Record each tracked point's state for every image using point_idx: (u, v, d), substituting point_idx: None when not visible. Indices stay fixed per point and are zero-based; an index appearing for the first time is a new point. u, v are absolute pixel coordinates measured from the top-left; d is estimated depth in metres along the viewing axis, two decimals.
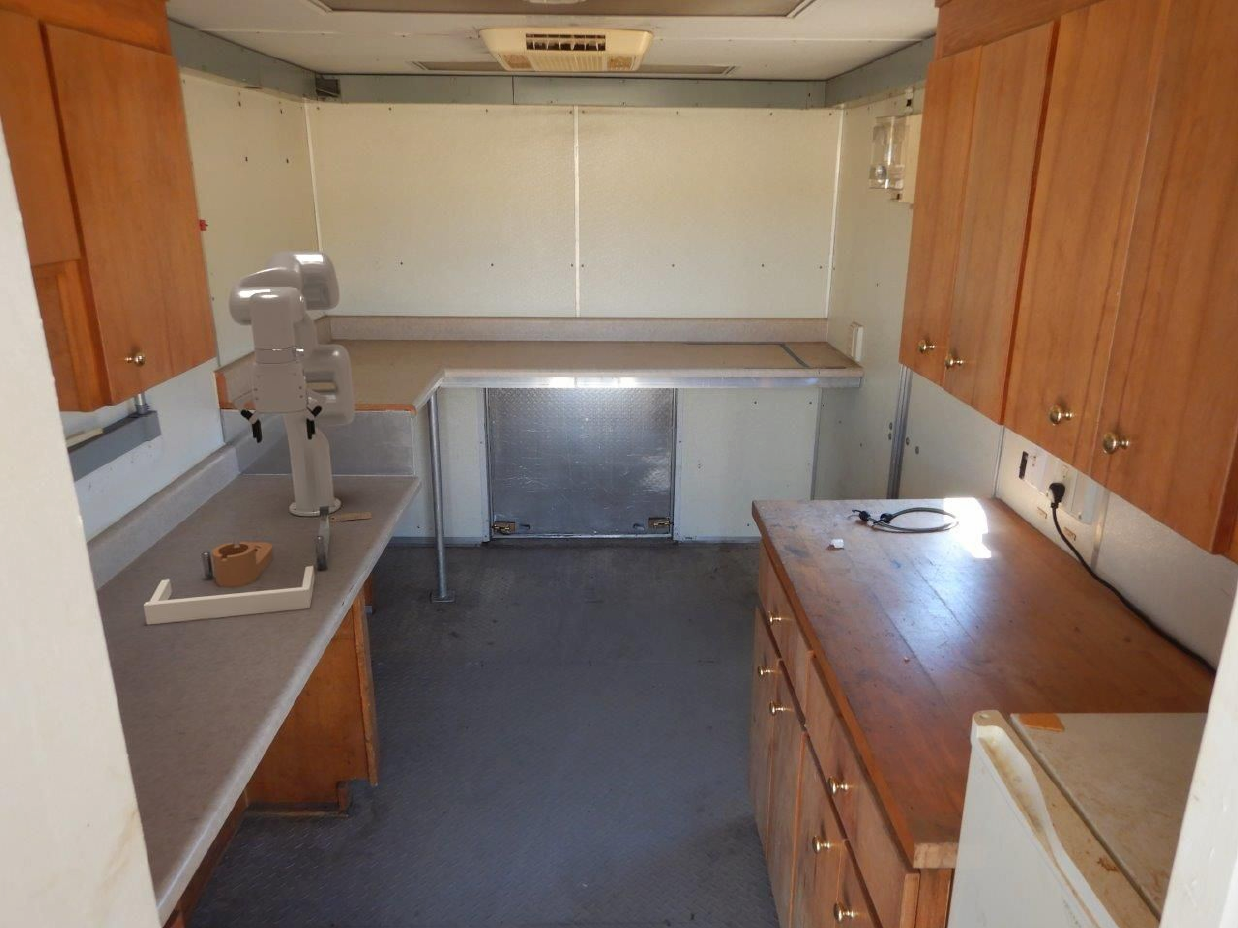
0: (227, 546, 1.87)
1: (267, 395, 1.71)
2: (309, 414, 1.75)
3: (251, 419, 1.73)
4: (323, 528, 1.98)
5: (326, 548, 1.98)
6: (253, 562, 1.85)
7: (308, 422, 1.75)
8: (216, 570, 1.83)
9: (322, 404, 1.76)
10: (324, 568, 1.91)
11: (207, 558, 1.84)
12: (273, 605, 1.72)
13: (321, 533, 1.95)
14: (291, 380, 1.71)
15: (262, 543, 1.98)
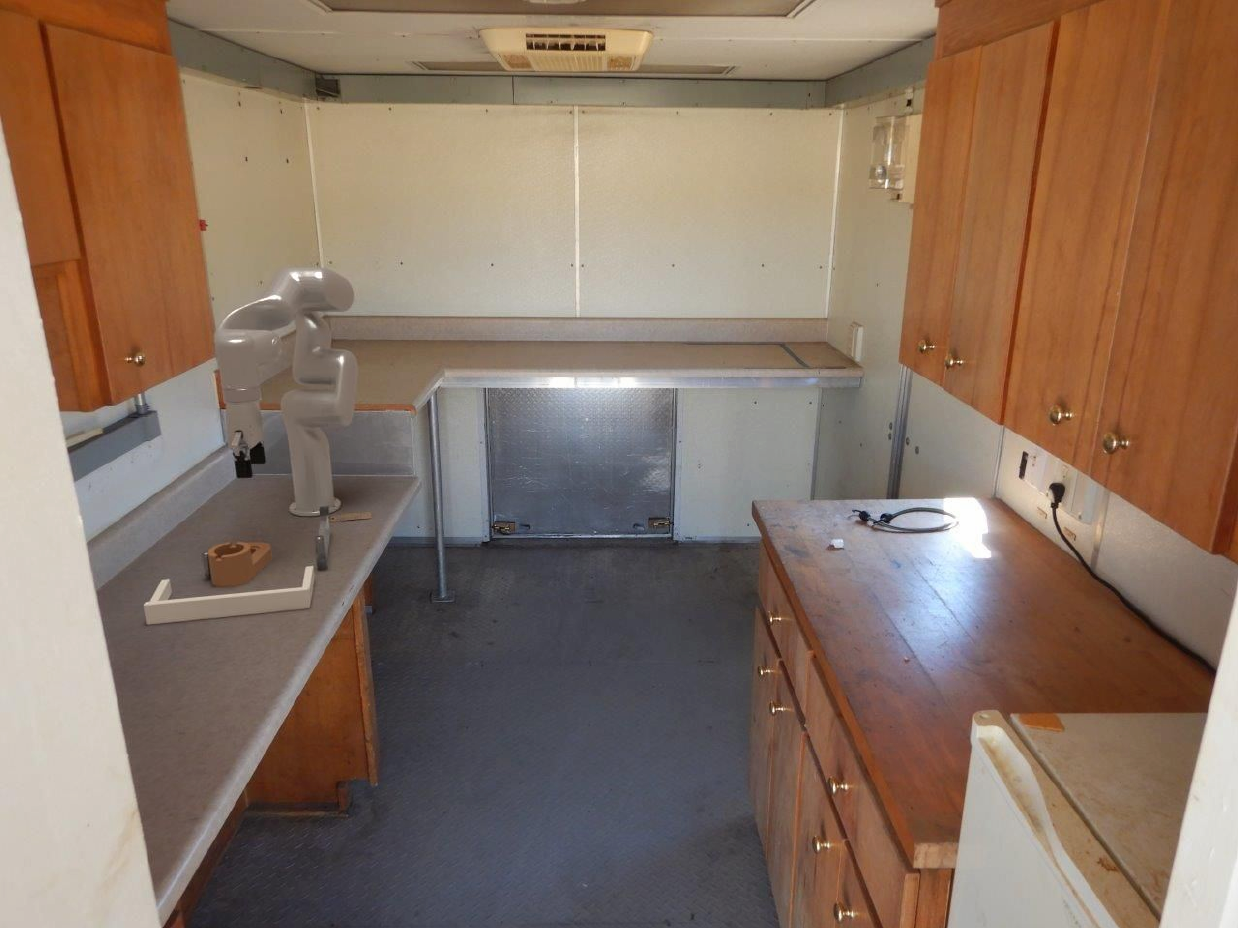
0: (224, 546, 1.87)
1: (254, 429, 1.87)
2: (262, 440, 1.95)
3: (246, 457, 1.84)
4: (323, 528, 1.98)
5: (326, 548, 1.98)
6: (248, 563, 1.85)
7: (263, 447, 1.95)
8: (211, 570, 1.83)
9: None
10: (324, 568, 1.91)
11: (207, 558, 1.84)
12: (273, 605, 1.72)
13: (321, 533, 1.95)
14: (259, 411, 1.90)
15: (262, 543, 1.98)
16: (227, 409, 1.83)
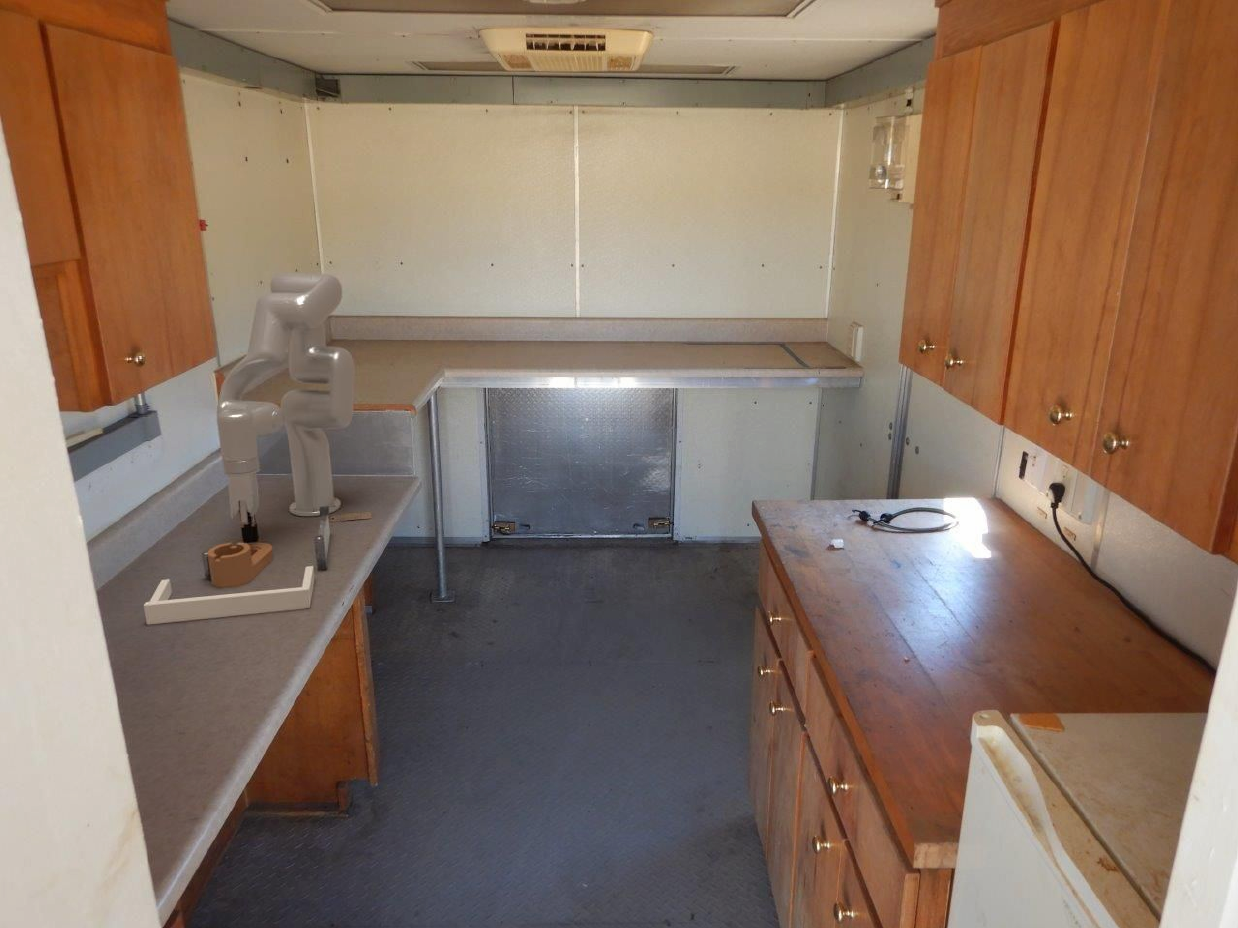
0: (224, 546, 1.87)
1: (255, 498, 1.95)
2: (255, 518, 1.99)
3: (253, 524, 1.97)
4: (323, 528, 1.98)
5: (326, 548, 1.98)
6: (247, 564, 1.84)
7: None
8: (211, 570, 1.83)
9: None
10: (324, 568, 1.91)
11: (207, 558, 1.84)
12: (273, 605, 1.72)
13: (321, 533, 1.95)
14: (256, 480, 1.98)
15: (263, 544, 1.98)
16: (230, 480, 1.90)
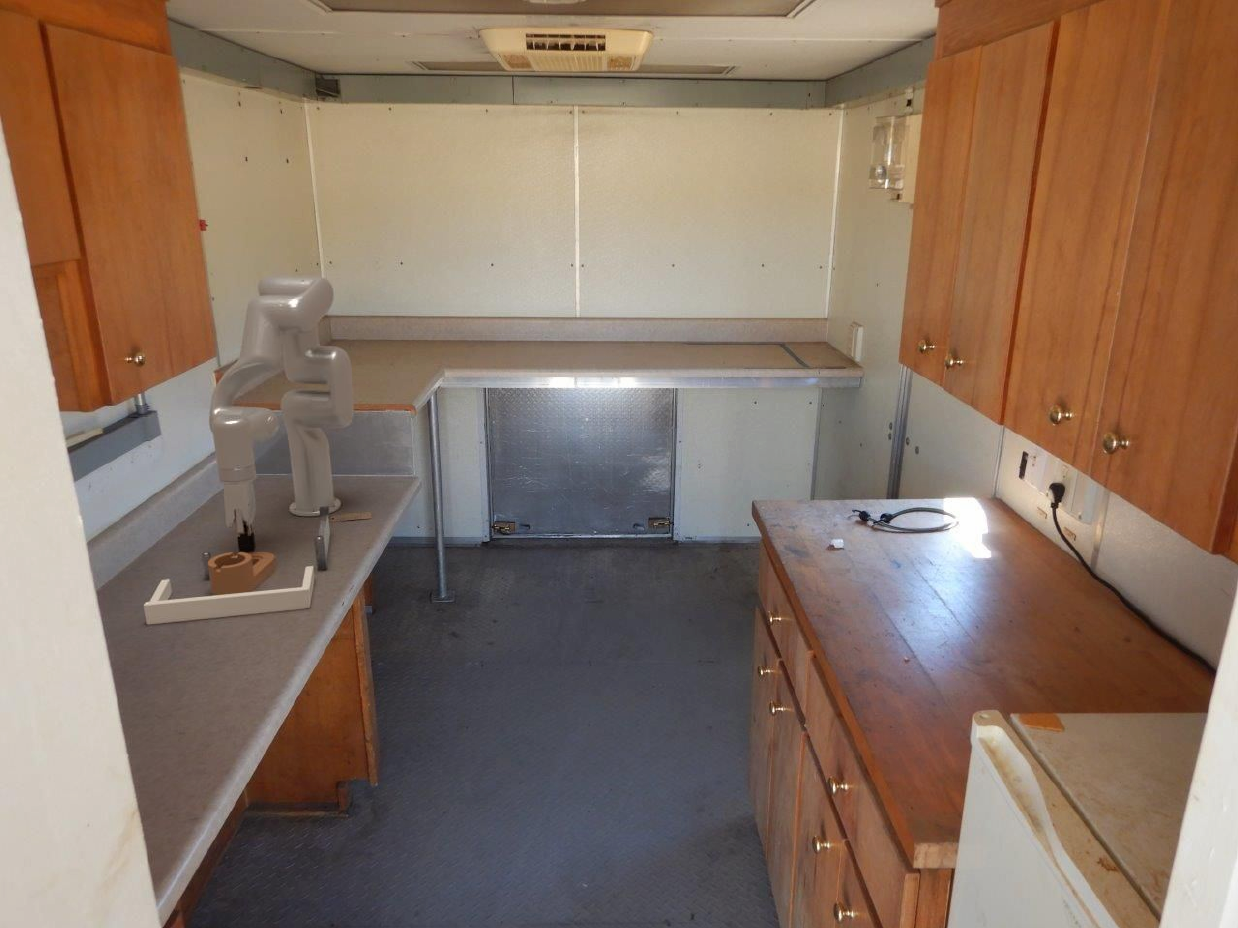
0: (225, 556, 1.82)
1: (251, 506, 1.89)
2: (251, 527, 1.93)
3: (249, 534, 1.91)
4: (323, 528, 1.98)
5: (326, 548, 1.98)
6: (248, 574, 1.79)
7: (253, 534, 1.94)
8: (211, 581, 1.78)
9: None
10: (324, 568, 1.91)
11: (207, 558, 1.84)
12: (273, 605, 1.72)
13: (321, 533, 1.95)
14: None
15: (265, 553, 1.93)
16: (225, 489, 1.85)
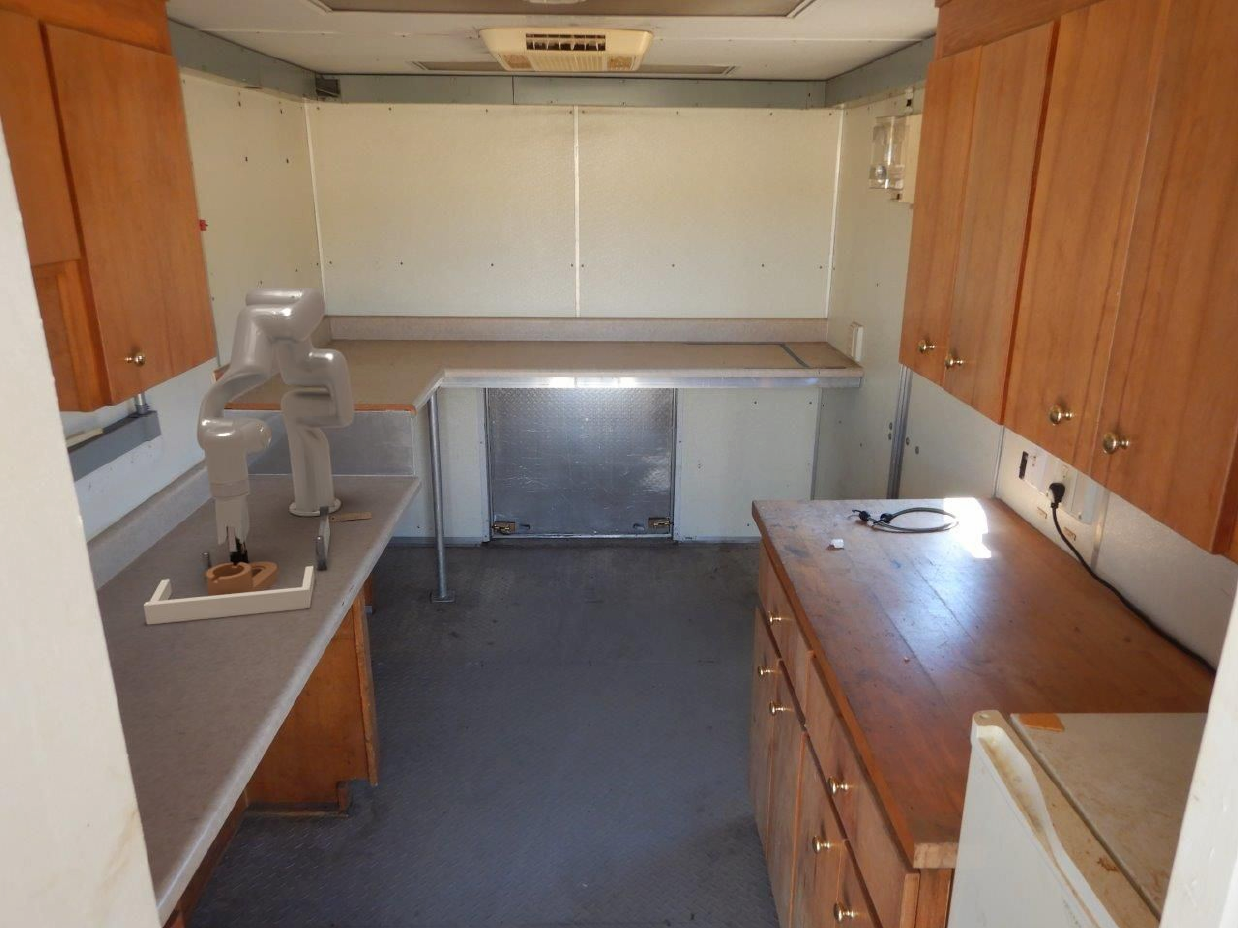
0: (224, 566, 1.77)
1: (244, 523, 1.80)
2: (245, 544, 1.84)
3: (243, 551, 1.82)
4: (323, 528, 1.98)
5: (326, 548, 1.98)
6: (247, 586, 1.74)
7: None
8: (209, 592, 1.73)
9: None
10: (324, 568, 1.91)
11: (207, 558, 1.84)
12: (273, 605, 1.72)
13: (321, 533, 1.95)
14: (246, 503, 1.83)
15: (269, 563, 1.88)
16: (217, 505, 1.75)
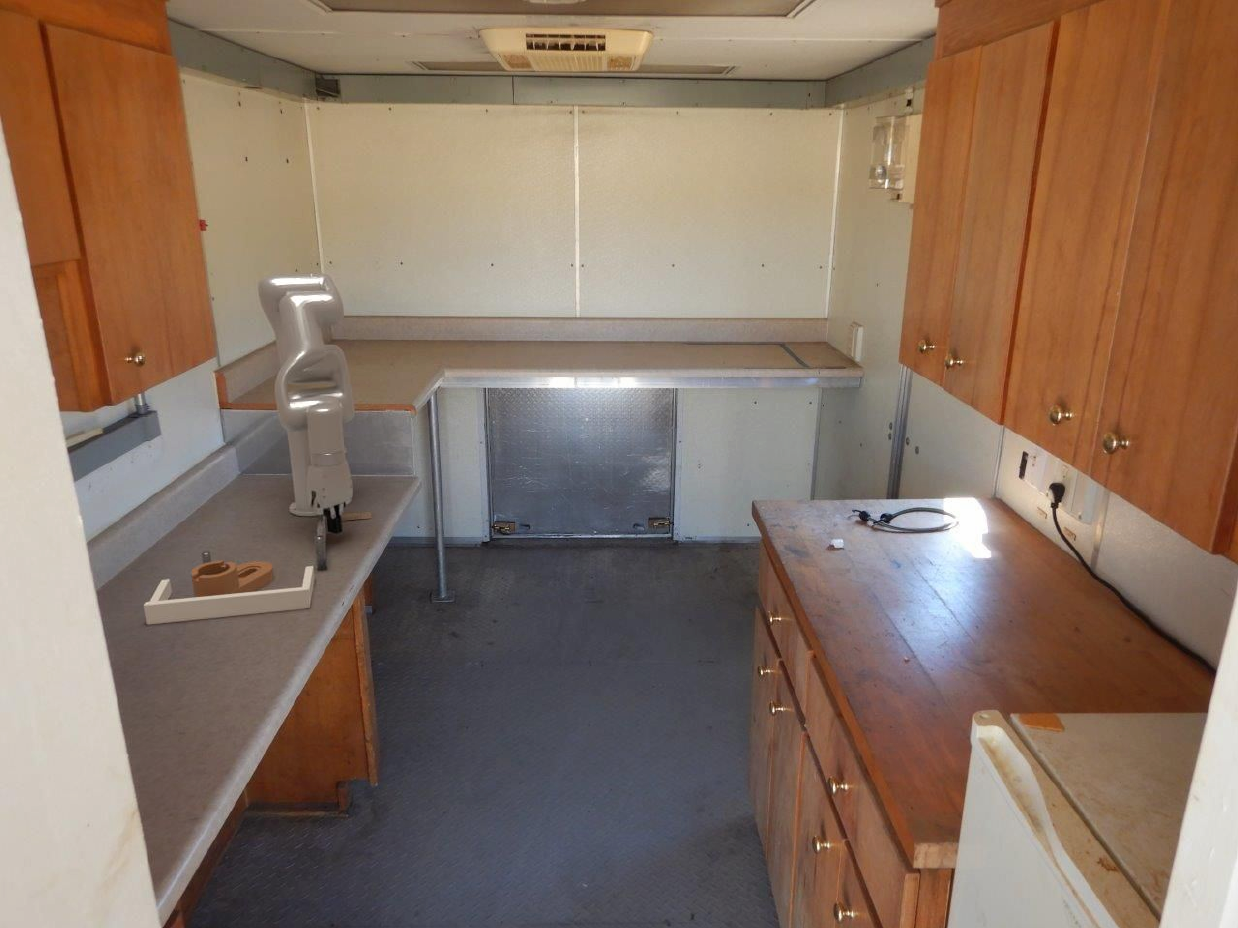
0: (214, 564, 1.78)
1: (331, 492, 1.99)
2: (340, 510, 2.04)
3: (332, 516, 2.02)
4: (321, 528, 1.98)
5: None
6: (228, 586, 1.74)
7: (340, 517, 2.04)
8: (193, 588, 1.74)
9: (347, 503, 2.07)
10: (324, 568, 1.91)
11: (207, 558, 1.84)
12: (273, 605, 1.72)
13: (320, 533, 1.95)
14: (345, 475, 2.02)
15: (267, 564, 1.88)
16: (308, 470, 1.98)
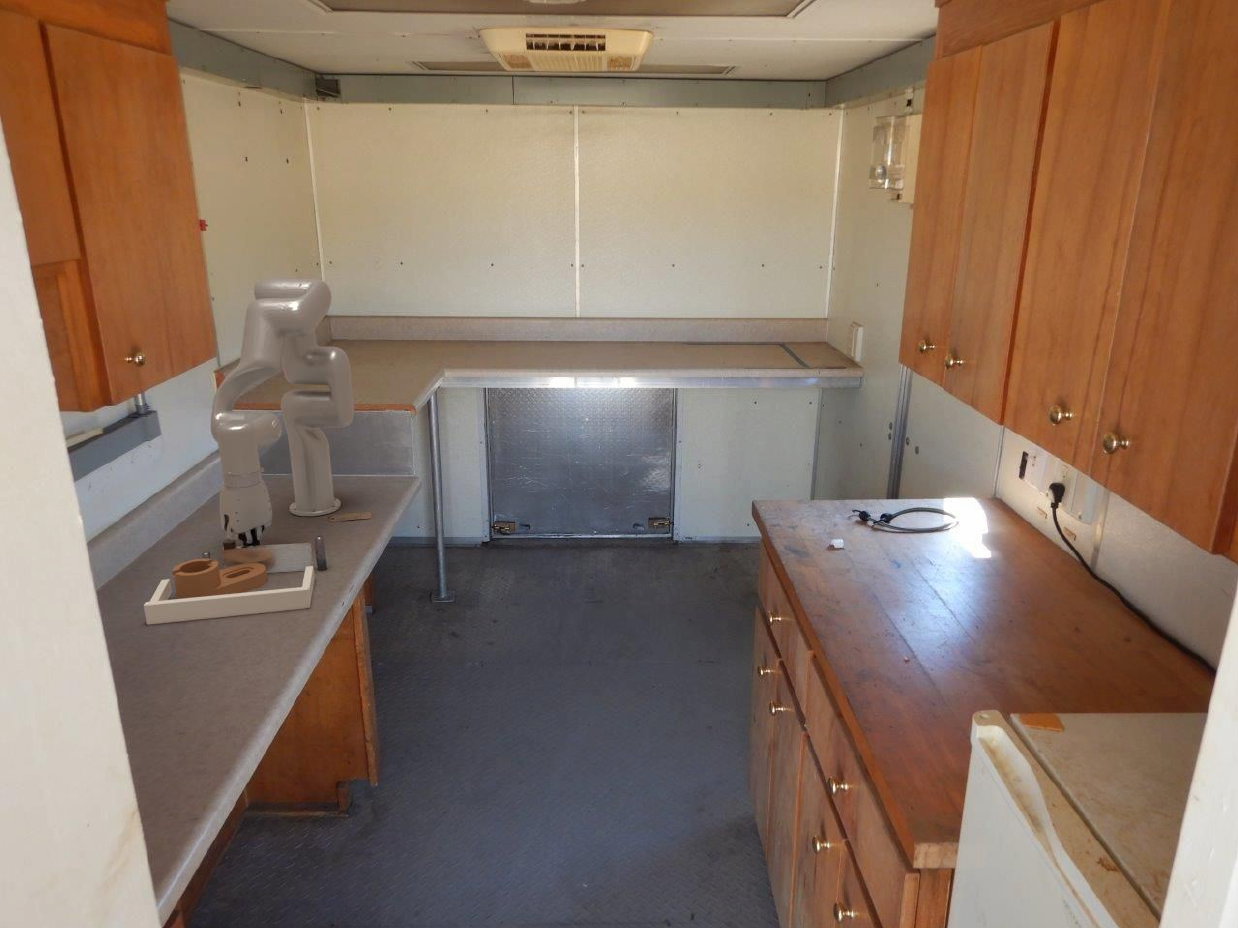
0: (201, 561, 1.79)
1: (245, 515, 1.85)
2: (257, 534, 1.90)
3: (248, 541, 1.89)
4: (276, 545, 1.89)
5: None
6: (203, 586, 1.74)
7: (258, 542, 1.90)
8: None
9: (266, 526, 1.93)
10: (324, 568, 1.91)
11: (207, 558, 1.84)
12: (273, 605, 1.72)
13: (291, 544, 1.89)
14: (262, 496, 1.88)
15: (262, 567, 1.86)
16: (220, 492, 1.84)
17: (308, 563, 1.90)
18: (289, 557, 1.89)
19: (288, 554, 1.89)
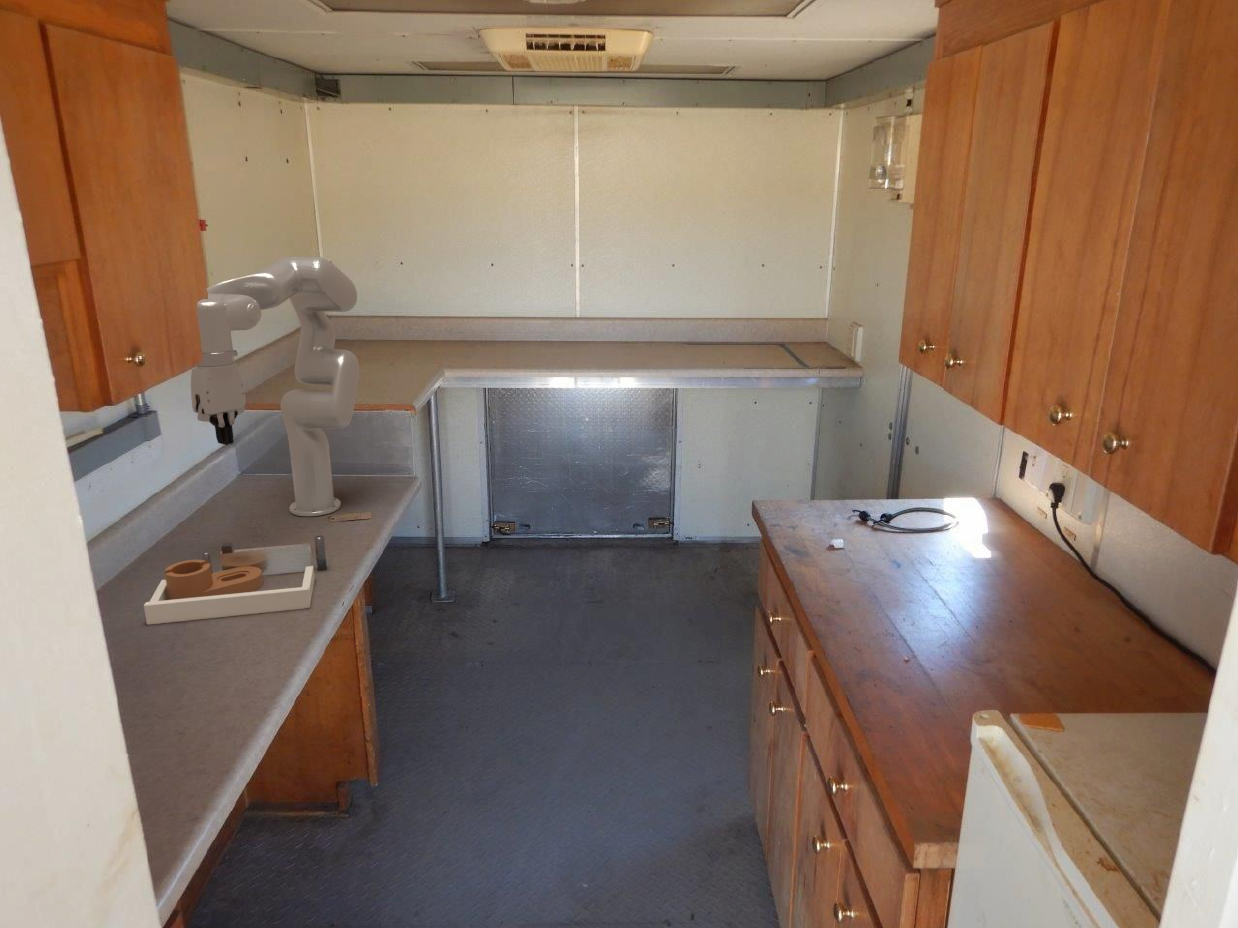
0: (196, 563, 1.78)
1: (217, 396, 1.82)
2: (230, 419, 1.87)
3: (220, 425, 1.85)
4: (275, 546, 1.88)
5: None
6: (190, 588, 1.73)
7: (230, 427, 1.87)
8: None
9: (239, 412, 1.89)
10: (324, 568, 1.91)
11: (207, 558, 1.84)
12: (273, 605, 1.72)
13: (290, 546, 1.88)
14: (235, 379, 1.85)
15: (258, 572, 1.84)
16: None
17: (308, 563, 1.90)
18: (289, 558, 1.88)
19: (287, 555, 1.88)
